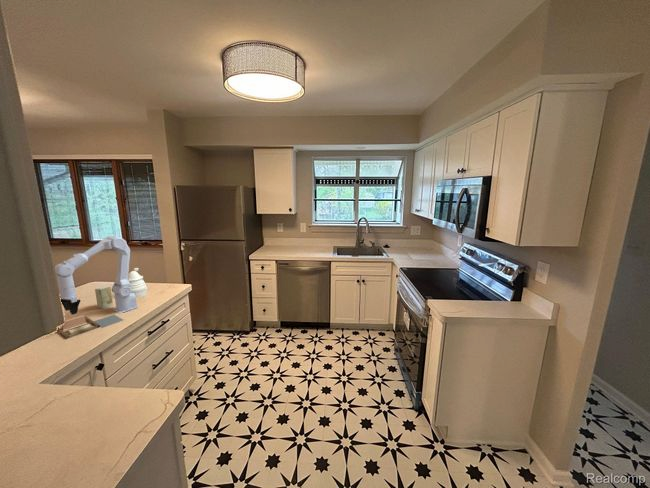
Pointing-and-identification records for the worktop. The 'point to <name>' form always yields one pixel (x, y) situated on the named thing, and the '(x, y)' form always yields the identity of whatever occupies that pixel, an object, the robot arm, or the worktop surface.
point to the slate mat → (108, 321)
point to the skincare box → (103, 297)
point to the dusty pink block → (74, 322)
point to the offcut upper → (80, 328)
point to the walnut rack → (79, 331)
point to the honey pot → (137, 283)
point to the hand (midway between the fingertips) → (71, 311)
